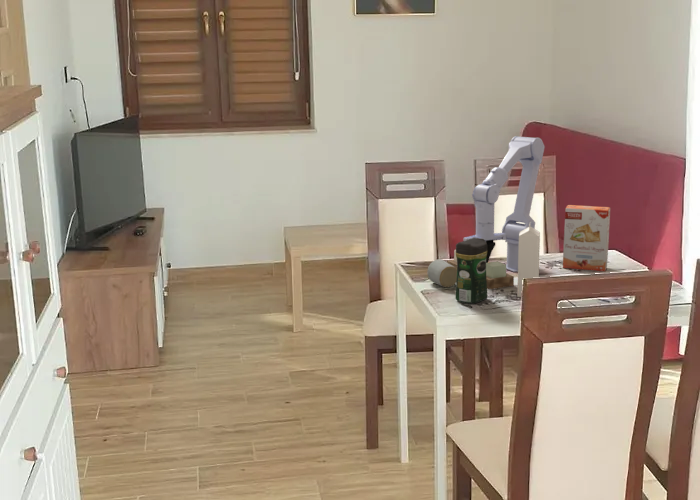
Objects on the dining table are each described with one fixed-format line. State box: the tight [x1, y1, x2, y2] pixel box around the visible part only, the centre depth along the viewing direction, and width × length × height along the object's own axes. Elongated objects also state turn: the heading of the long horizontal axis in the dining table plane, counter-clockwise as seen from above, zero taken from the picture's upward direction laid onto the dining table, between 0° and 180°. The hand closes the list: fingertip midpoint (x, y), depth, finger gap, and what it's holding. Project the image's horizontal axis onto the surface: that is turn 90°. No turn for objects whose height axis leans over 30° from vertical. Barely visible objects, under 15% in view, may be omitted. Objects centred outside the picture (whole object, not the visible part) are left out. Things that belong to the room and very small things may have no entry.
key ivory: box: [453, 249, 457, 262], centre depth 287 cm, size 5×5×4 cm
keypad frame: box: [446, 259, 515, 290], centre depth 279 cm, size 9×27×3 cm, turn 22°
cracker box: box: [562, 204, 611, 272], centre depth 284 cm, size 14×6×21 cm, turn 68°
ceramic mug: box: [426, 259, 457, 288], centre depth 271 cm, size 11×8×8 cm
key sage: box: [486, 260, 507, 278], centre depth 269 cm, size 5×5×4 cm
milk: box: [516, 224, 541, 298], centre depth 256 cm, size 6×6×22 cm
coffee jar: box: [455, 238, 488, 304], centre depth 253 cm, size 10×8×19 cm
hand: (484, 263), depth 275 cm, fingers closed, pressing on key terracotta
